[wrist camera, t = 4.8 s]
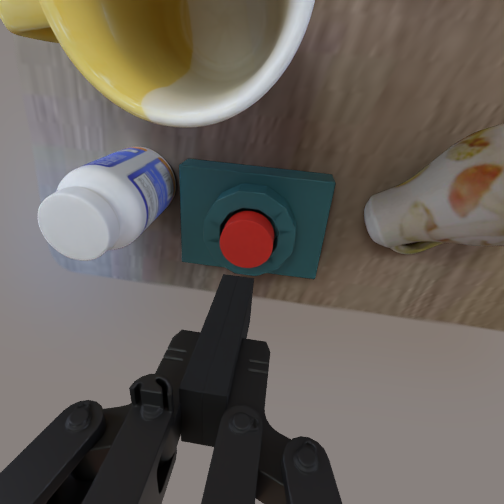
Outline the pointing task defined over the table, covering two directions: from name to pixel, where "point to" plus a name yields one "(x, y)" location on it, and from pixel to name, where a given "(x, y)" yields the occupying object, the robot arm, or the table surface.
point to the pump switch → (259, 200)
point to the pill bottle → (107, 203)
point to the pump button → (247, 239)
